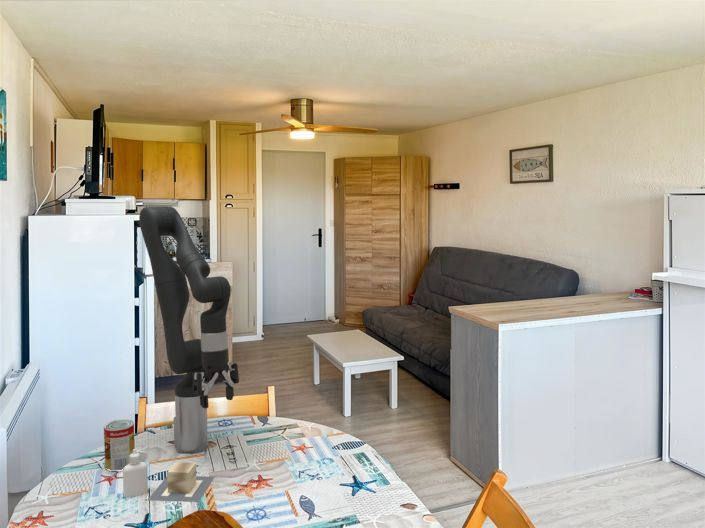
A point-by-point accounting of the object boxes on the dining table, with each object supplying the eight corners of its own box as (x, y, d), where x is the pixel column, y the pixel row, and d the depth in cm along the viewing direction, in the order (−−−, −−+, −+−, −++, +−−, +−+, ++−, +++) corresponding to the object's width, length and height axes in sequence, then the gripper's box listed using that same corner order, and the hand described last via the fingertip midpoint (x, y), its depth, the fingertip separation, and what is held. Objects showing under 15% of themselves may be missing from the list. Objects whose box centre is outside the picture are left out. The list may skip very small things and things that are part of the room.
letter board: (147, 502, 134) (147, 500, 134) (167, 477, 147) (167, 475, 147) (198, 504, 134) (198, 501, 134) (215, 478, 147) (215, 476, 147)
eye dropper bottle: (127, 491, 140) (126, 446, 139) (150, 490, 140) (148, 445, 139) (121, 499, 136) (119, 453, 135) (144, 499, 136) (142, 453, 135)
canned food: (131, 457, 160) (130, 417, 159) (138, 467, 153) (136, 426, 152) (102, 463, 155) (101, 423, 154) (108, 474, 149) (106, 432, 148)
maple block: (167, 492, 138) (167, 472, 137) (176, 482, 143) (175, 462, 143) (189, 493, 138) (188, 472, 137) (196, 483, 143) (196, 462, 143)
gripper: (226, 341, 162) (229, 395, 163) (185, 350, 151) (188, 408, 151) (242, 344, 157) (245, 399, 158) (201, 353, 146) (204, 413, 147)
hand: (217, 403), depth 155 cm, fingers open, 8 cm apart
